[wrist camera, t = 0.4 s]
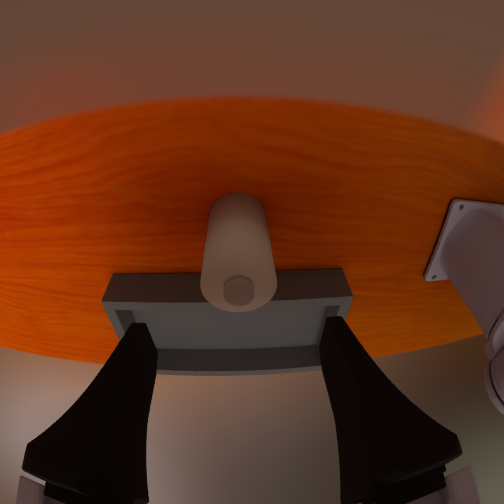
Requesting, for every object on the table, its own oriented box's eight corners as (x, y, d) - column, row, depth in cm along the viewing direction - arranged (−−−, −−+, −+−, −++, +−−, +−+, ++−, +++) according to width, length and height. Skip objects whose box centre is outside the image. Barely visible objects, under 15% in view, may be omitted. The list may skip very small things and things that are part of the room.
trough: (341, 268, 22) (353, 296, 20) (321, 344, 28) (327, 369, 25) (113, 273, 21) (101, 301, 19) (142, 347, 27) (137, 372, 25)
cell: (266, 191, 18) (281, 263, 12) (264, 240, 20) (276, 319, 15) (207, 193, 18) (194, 265, 12) (211, 241, 20) (203, 321, 14)
